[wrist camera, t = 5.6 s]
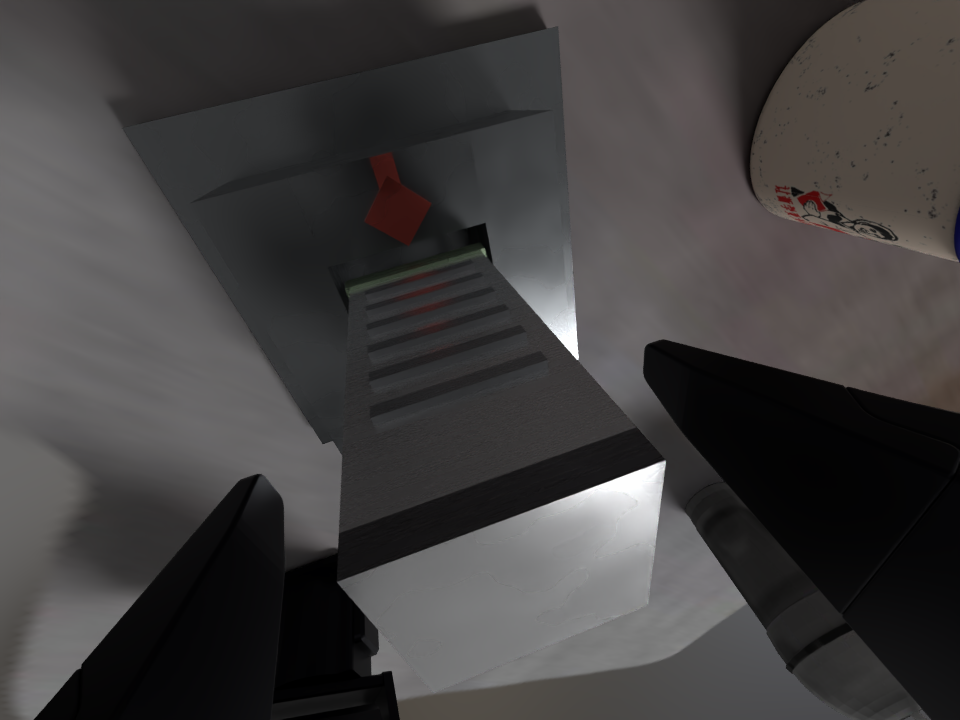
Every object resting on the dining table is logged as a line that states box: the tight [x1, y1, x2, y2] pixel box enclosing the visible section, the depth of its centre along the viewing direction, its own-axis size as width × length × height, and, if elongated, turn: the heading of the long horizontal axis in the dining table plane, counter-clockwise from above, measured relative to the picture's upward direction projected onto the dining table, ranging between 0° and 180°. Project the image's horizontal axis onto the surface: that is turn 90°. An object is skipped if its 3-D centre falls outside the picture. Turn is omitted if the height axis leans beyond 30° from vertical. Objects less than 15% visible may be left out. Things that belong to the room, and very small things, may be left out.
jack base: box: [123, 26, 578, 454], centre depth 15 cm, size 14×14×5 cm
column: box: [337, 242, 666, 693], centre depth 9 cm, size 4×4×9 cm
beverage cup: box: [686, 483, 927, 720], centre depth 27 cm, size 7×7×20 cm
